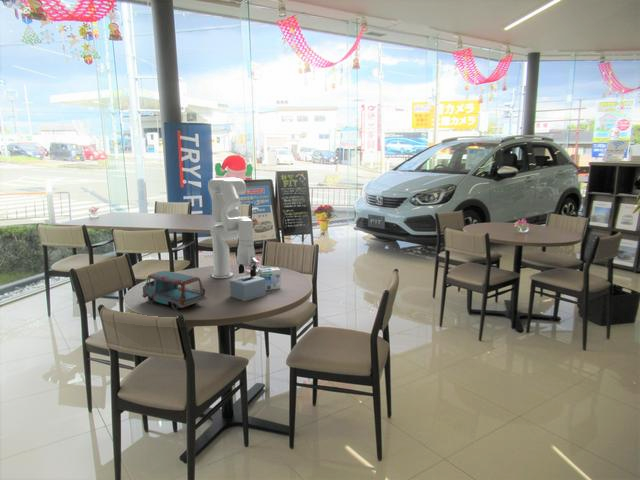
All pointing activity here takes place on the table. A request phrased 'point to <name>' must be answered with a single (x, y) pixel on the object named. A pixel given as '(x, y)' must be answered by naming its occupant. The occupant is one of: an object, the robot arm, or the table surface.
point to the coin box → (247, 287)
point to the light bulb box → (271, 277)
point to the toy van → (172, 289)
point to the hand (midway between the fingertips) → (247, 274)
